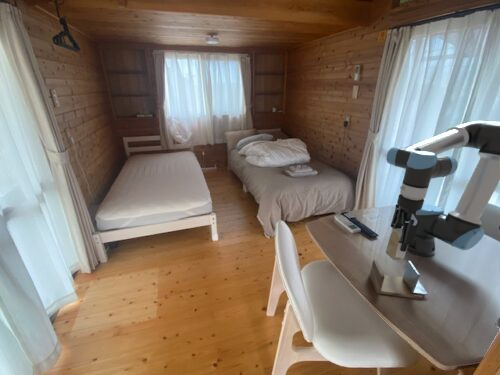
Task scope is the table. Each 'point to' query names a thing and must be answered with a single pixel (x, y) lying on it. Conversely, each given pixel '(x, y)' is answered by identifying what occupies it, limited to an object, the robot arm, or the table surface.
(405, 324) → the table surface
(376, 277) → the rack
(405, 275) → the bookend
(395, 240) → the box
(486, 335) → the table surface
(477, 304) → the table surface
